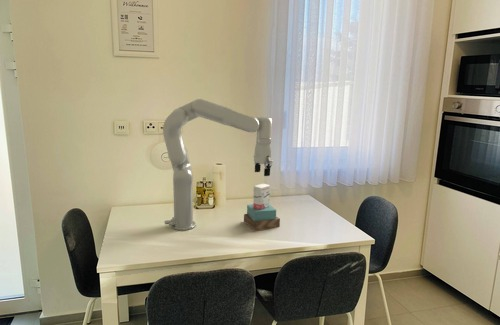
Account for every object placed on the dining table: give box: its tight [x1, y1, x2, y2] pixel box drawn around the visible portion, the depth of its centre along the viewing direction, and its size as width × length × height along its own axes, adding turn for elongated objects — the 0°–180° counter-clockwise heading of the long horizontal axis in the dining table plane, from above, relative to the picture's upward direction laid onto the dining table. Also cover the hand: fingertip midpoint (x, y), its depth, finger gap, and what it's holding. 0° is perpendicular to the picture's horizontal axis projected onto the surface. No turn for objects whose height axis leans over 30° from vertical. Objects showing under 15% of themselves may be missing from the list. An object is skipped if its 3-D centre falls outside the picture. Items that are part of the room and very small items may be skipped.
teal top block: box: [246, 203, 277, 221], centre depth 196 cm, size 12×12×5 cm
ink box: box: [253, 183, 271, 210], centre depth 195 cm, size 9×5×12 cm, turn 141°
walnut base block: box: [243, 213, 281, 232], centre depth 197 cm, size 14×14×5 cm
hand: (262, 173), depth 194 cm, fingers open, 9 cm apart
